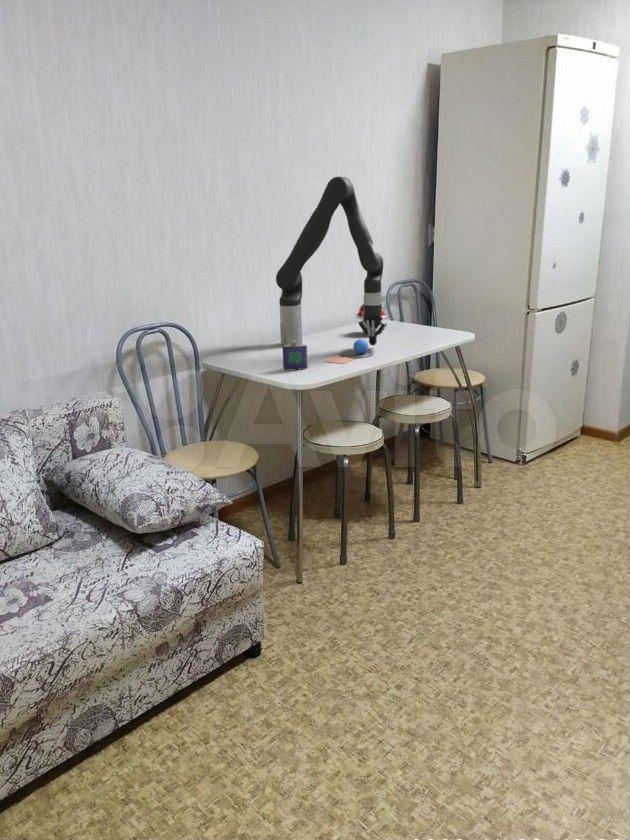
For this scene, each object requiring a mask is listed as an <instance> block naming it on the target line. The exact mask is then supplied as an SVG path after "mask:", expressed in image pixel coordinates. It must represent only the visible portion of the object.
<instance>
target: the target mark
mask: <svg viewBox="0 0 630 840" xmlns="http://www.w3.org/2000/svg"><path fill="white" fill-rule="evenodd" d="M373 354H374V352H373V351H369V350H367V351H366V352H365V353H364V354H357V353H356V352H355V351H354V349H352V350H351V349H350V350H345V351H342V352H340V353H338V357H346V358H353V359H365V357H366V358H370V357H372V355H373ZM373 356H374V355H373Z"/></svg>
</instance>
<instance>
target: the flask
mask: <svg viewBox="0 0 630 840" xmlns="http://www.w3.org/2000/svg"><path fill="white" fill-rule="evenodd" d="M296 342H297V341H293V344H289V345H288V344H287V345H284V346H282V364H283V365H282V368H283V370H284V369H295V370H303V369H302V368H307V369H308V368H309V364H308V361H309V360H308V345H307V344H301V345H297V344H296ZM299 368H300V369H299Z"/></svg>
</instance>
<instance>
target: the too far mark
mask: <svg viewBox="0 0 630 840" xmlns="http://www.w3.org/2000/svg"><path fill="white" fill-rule="evenodd" d="M355 359H356V358H345V357H341V356H334V357H331V358H329V359H326V360H324V361H325V363H331V362H332V363H331V364H340V365H345V364H347V362H348V363H350V362H353V361H355ZM352 360H353V361H352ZM349 361H350V362H349Z"/></svg>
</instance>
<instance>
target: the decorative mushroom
mask: <svg viewBox="0 0 630 840" xmlns="http://www.w3.org/2000/svg"><path fill="white" fill-rule="evenodd" d="M355 317H356V318H357V319H359V320H363V317H364V303H363V304H362V305H361V306H360V307H359V311H358V313H357V314H356V315H355ZM381 317H382V320H383V319H385V318H387V314H386V313H385V311H384V307H383V306H382V315H381ZM366 326H367V325H366ZM379 328H380V326H379V327H378V329H379ZM362 333H363V334H364V335H365V333H364V331H363V330H362ZM366 336H368V335H367V334H366Z"/></svg>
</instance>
